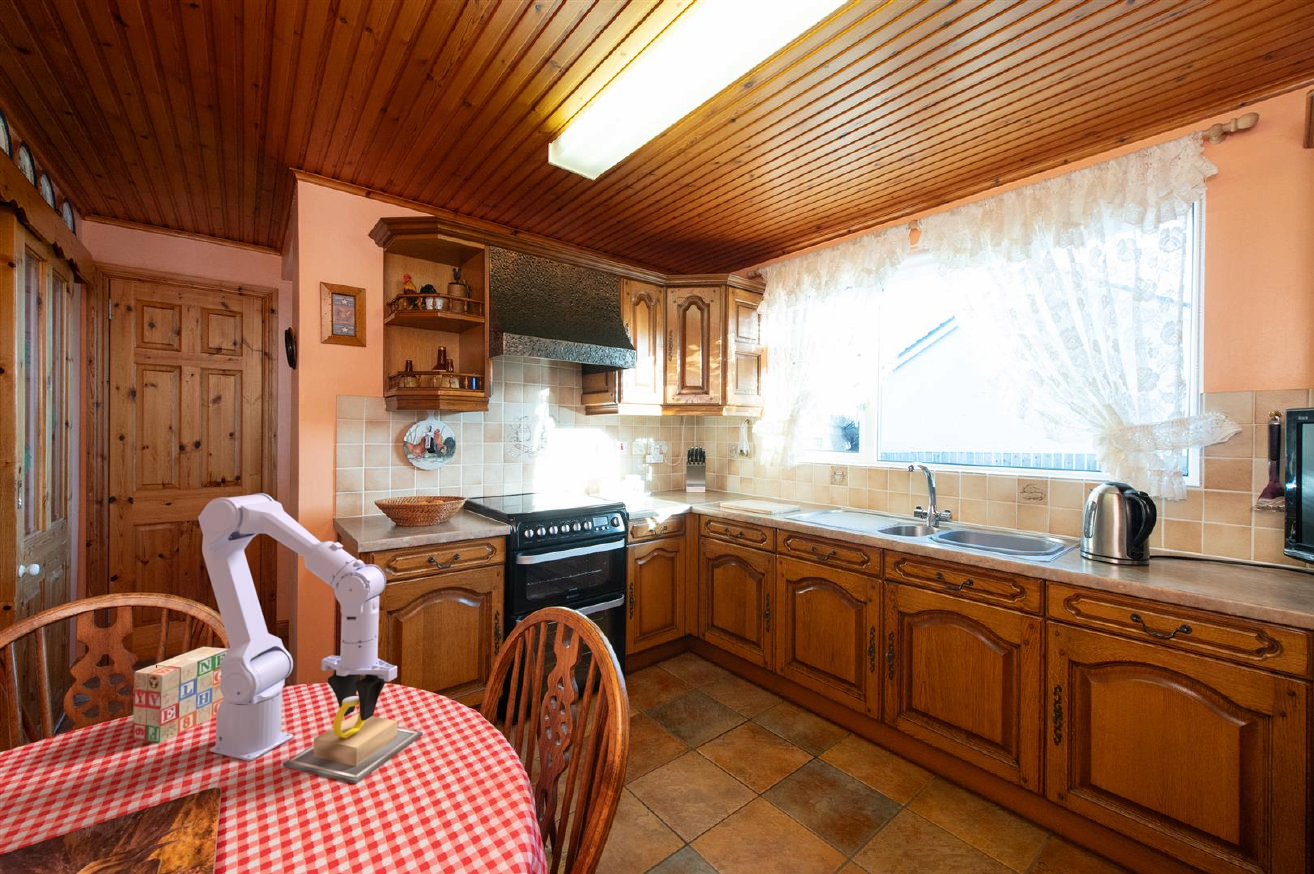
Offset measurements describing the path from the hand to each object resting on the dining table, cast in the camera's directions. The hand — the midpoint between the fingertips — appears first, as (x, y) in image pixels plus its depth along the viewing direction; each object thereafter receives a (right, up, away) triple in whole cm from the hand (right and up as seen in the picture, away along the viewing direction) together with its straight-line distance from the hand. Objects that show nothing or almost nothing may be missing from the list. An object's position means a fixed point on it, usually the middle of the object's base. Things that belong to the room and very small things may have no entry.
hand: (357, 715), depth 94 cm
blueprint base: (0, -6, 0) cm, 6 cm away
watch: (0, -3, -1) cm, 3 cm away
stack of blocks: (-36, -6, +12) cm, 38 cm away
